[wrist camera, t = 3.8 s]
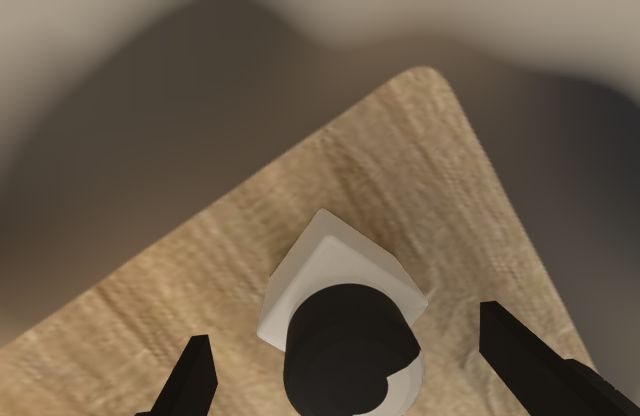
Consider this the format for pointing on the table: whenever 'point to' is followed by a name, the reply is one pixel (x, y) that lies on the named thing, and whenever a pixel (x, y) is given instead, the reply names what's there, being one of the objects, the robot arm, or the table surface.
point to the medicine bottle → (344, 324)
